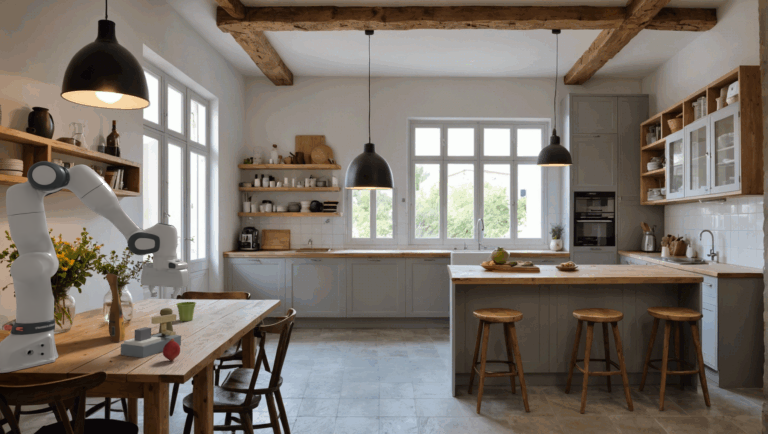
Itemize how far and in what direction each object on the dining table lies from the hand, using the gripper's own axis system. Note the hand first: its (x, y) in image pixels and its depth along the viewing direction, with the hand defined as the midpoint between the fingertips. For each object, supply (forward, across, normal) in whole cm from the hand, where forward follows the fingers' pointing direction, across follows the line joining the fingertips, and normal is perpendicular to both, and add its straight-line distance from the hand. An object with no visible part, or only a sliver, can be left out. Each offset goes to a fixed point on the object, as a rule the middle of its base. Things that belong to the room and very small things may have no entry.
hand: (163, 297), depth 193 cm
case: (+20, 0, -6) cm, 20 cm away
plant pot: (+20, -23, +46) cm, 55 cm away
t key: (+15, +3, -1) cm, 15 cm away
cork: (+20, -14, +20) cm, 32 cm away
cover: (+16, 0, -10) cm, 19 cm away
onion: (+20, +17, -16) cm, 30 cm away
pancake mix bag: (+20, -28, +5) cm, 35 cm away
